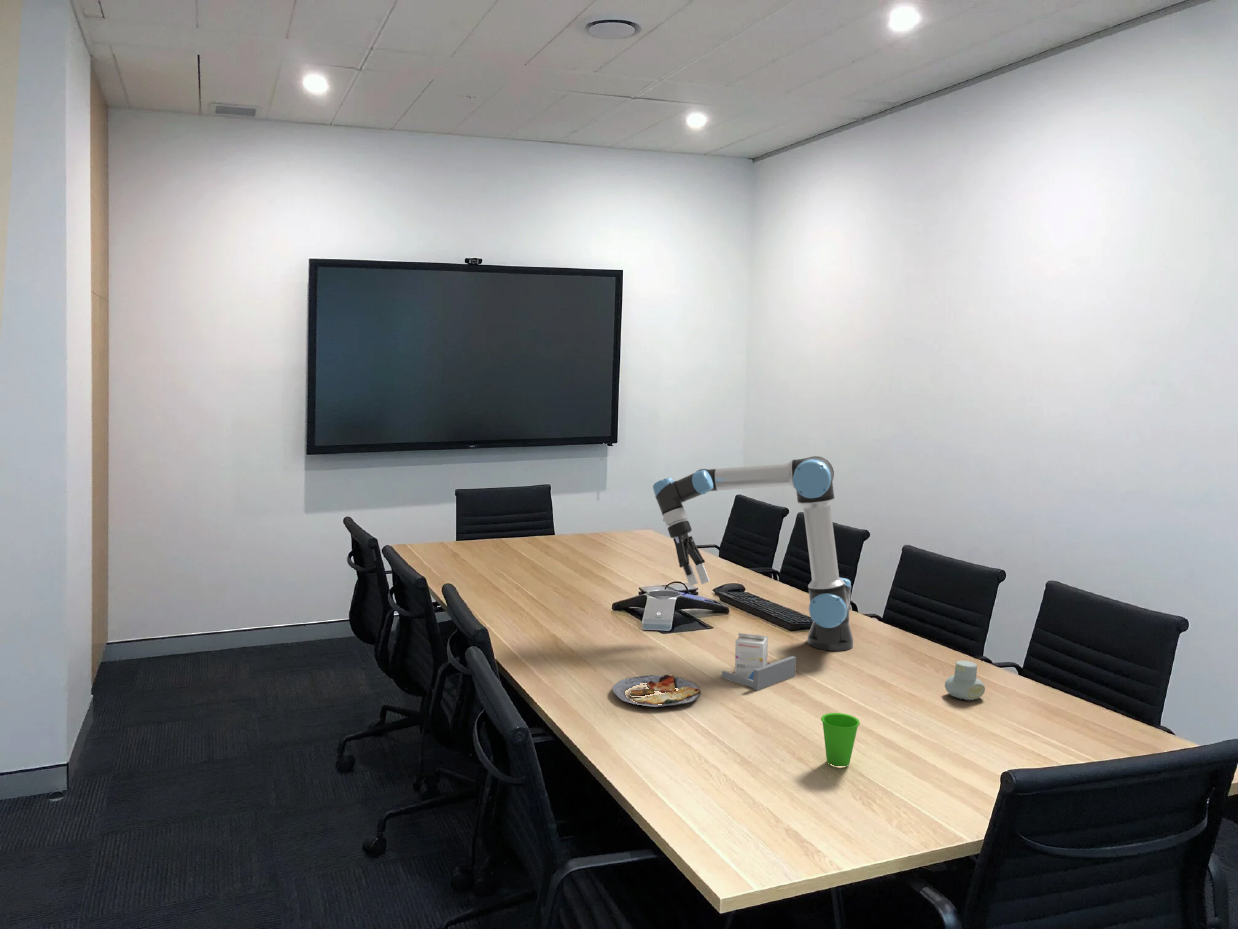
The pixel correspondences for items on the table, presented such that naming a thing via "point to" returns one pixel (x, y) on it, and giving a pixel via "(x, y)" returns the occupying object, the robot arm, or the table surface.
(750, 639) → the ink box
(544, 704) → the table surface
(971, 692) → the air freshener
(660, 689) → the food plate
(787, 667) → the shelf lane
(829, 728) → the cup
